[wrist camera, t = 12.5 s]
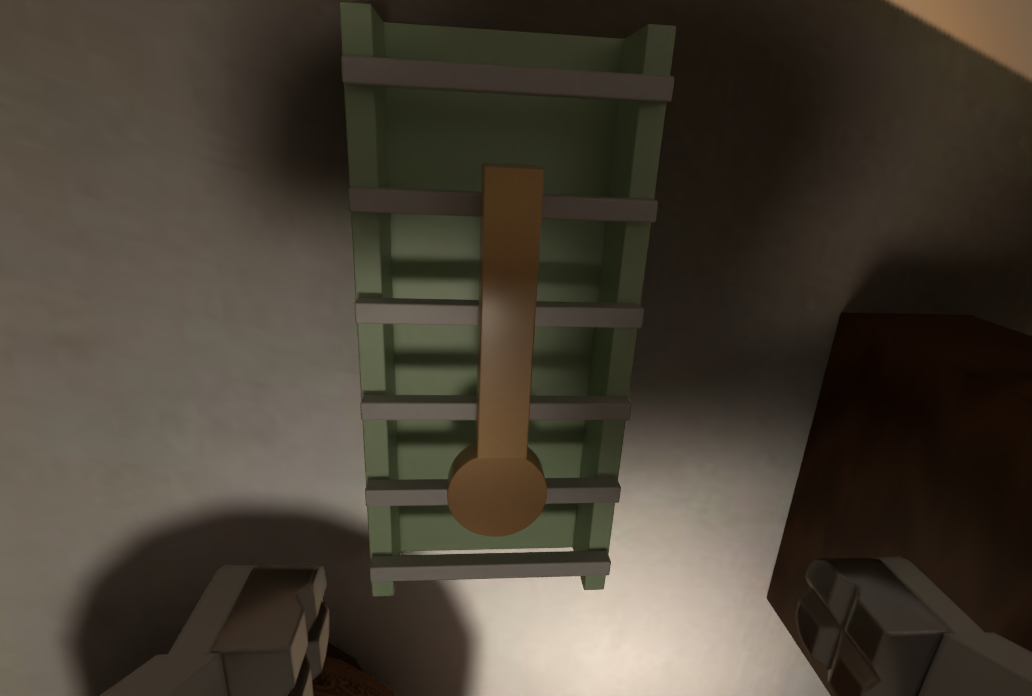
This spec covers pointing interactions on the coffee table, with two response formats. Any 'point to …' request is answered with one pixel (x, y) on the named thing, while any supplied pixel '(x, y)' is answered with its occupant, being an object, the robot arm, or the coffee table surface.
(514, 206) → the spoon
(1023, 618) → the stand
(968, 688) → the robot arm
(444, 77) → the rack
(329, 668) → the bowl
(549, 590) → the coffee table surface
